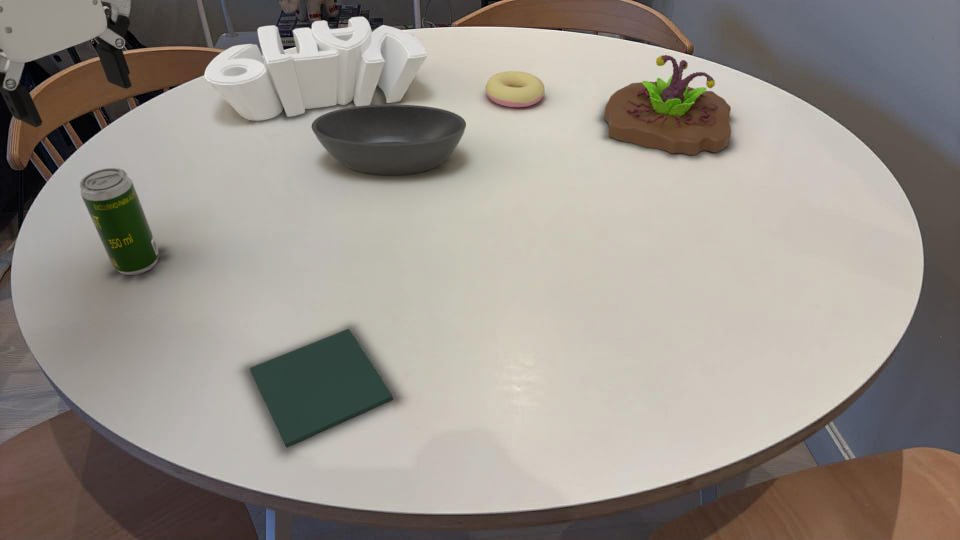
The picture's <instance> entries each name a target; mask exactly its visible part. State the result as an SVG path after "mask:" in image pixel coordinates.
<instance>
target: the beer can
mask: <svg viewBox="0 0 960 540" xmlns="http://www.w3.org/2000/svg"><path fill="white" fill-rule="evenodd" d="M79 187H80V196H81V198H82V200H83V203H84V205H85V207H86V209H87V212H88V214H89V216H90V219H91V220H92V223H93V225H94V227H95V229H96V232H97V234H98V237H99V239H100V241H101V243H102V245H103V248H104V251H105V253H106V254H107V256H108V259H109V262H110V263H111V266H112V267H113V269H114V270H116V271H117V272H118V273H120V274H121V275H126V276H137V275H141V274H144V273H147V272H148V271H150V270H151V269H153V268H154V267H155V266H156V265H157V263H158V261H159V257H160V252H159V248H158V245H157V244H156V241H155V238H154V235H153V232H152V230H151V227H150V225H149V222H148V219H147V216H146V214H145V211H144V209H143V206H142V204H141V201H140V197H139V196H138V193H137V190H136V188H135V185H134V183H133V180H132V179H131V177H129V175H128V173H127V172H126V171H125V170H124V169H121V168H116V167H107V168H101V169H97V170H94V171H92V172H90V173H88V174H87V175H85V176H84V177H83V178H82V179H81V180H80V181H79Z"/></svg>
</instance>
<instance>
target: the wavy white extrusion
mask: <svg viewBox="0 0 960 540" xmlns="http://www.w3.org/2000/svg"><path fill="white" fill-rule="evenodd" d="M292 35H293V40H294V44H295V45H294V46H295V50H296V53H285V50H284V46H283V41H282V38H281V35H280V31H279V28H278V26H276V25H275V24H274V25H273V24H272V25H264V26H259V27H258V28H257V37H258V41H259V45H260V48H259V45H258V44H253V43H246V44H245V43H244V44H238V45H233V46H230V47H229V48H226V49H225V50H223V51H221V53H219V54H217V55H216V56H215V57H214V58H213V59H211V61H210V62H209V63H208V65H207V66H206V68H205V70H204V75H203V77H204V79H205V80H206V81H207V83H209V84H210V86H211V87H213V89H214V90H216V92H217V93H218V94H219V95H220V96H221V97H222V98H223V99H224V100H225V101H226V102H227V103H228V104H229V105H230V106H231V107H232V108H233V109H234V110H235V111H236V112H237V113H238V115H239V116H240V117H242V118H243V119H245V120H248V121H251V122H252V121H253V122H258V121H267V120H271V119H273V118H275V117H277V116H279V115H280V114H281V113H282V112H283V110H284V113H285V114H286V117H287V118H290V117H291V118H292V117H296V116H300V115H303V114H305V113H306V110H311V109H319V108H320V109H321V108H327V107H334V106H337V105H341V106H346V105H347V104H349V103H351V102H353V103H354V106H355V107H356V106H366V105H371V103H372V100H373V97H374V94H375V92H376V88H377V86H378V87H379V88H380V89H381V91H382V92H383V94H384V96H385V100H386V104H393V103H398V102H401V101H402V99H403V97H404V96H405V94H406V92H407V91H408V90H409V87H410V86H411V84H412V82H413V80H414V79H415V78H416V75H417V74H418V73H419V70H420V69H421V67H422V65H423V64H424V62H425V61H426V59H427V57H428V53H427V49H426V47H425V46H424V44H423V43H422V42H421V41H420V39H418V38H416V37H415V36H414V35H412V34H411V33H409V32H407V31H404V30H402V29H400V28H396V27H393V26H390V25H385V24H382V25H380V26H378V27H377V28H376V29H374V30H372V28H371V25H370V22H369V21H368V19H367V18H366V17H364V16H353V17H350V18H349V19H348V21H347V27H340V28H339V27H338V28H330V27H329V24H328V21H326V20H316V21H313V22H312V23H311V28H310V27H298V28H294V29H293V30H292ZM260 49H261V50H260Z"/></svg>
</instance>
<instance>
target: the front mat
mask: <svg viewBox="0 0 960 540" xmlns="http://www.w3.org/2000/svg"><path fill="white" fill-rule="evenodd" d="M249 370H250V373H251V375H252V377H253V379H254V381H255V383H256V386H257V387H258V390H259V392H260V394H261V396H262V398H263V400H264V402H265V404H266V407H267V409H268V411H269V413H270V415H271V417H272V420H273V422H274V424H275V426H276V428H277V430H278V432H279V434H280V436H281V439H282V441H283V443H284V445H285V447H286V448H287V447H290V446H292V445H294V444H296V443H299V442H301V441H303V440H306V439H308V438H309V437H312V436H314V435H316V434H319V433H321V432H324V431H326V430H327V429H330V428H332V427H334V426H337V425H339V424H341V423H343V422H345V421H347V420H350V419H352V418H354V417H357V416H358V415H361V414H363V413H365V412H367V411H370V410H372V409H373V408H374V409H375V408H376V407H378V406H380V405H383V404H385V403H387V402H389V401H392V400H393V399H394V396H393V394H392V393H391V391H390V390H389V388H388V386H387V385H386V384H385V382H384V381H383V379H382V377H381V376H380V374H379V373H378V371H377V369H376V368H375V366H374V365H373V364H372V362H371V360H370V359H369V357H368V356H367V354H366V353H365V351H364V350H363V348H362V347H361V345H360V344H359V342H358V340H357V339H356V337H355V336H354V335H353V333H352V331H351V330H350V329H349V328H346V329H344V330H342V331H339V332H337V333H334V334H332V335H329V336H326V337H324V338H321V339H318V340H317V341H314V342H311V343H309V344H307V345H304V346H301V347H299V348H296V349H294V350H292V351H289V352H286V353H284V354H281V355H279V356H276V357H274V358H272V359H269V360H267V361H266V360H265V361H264V362H261V363H258V364H256V365H253V366H251V367H250V368H249Z"/></svg>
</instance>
